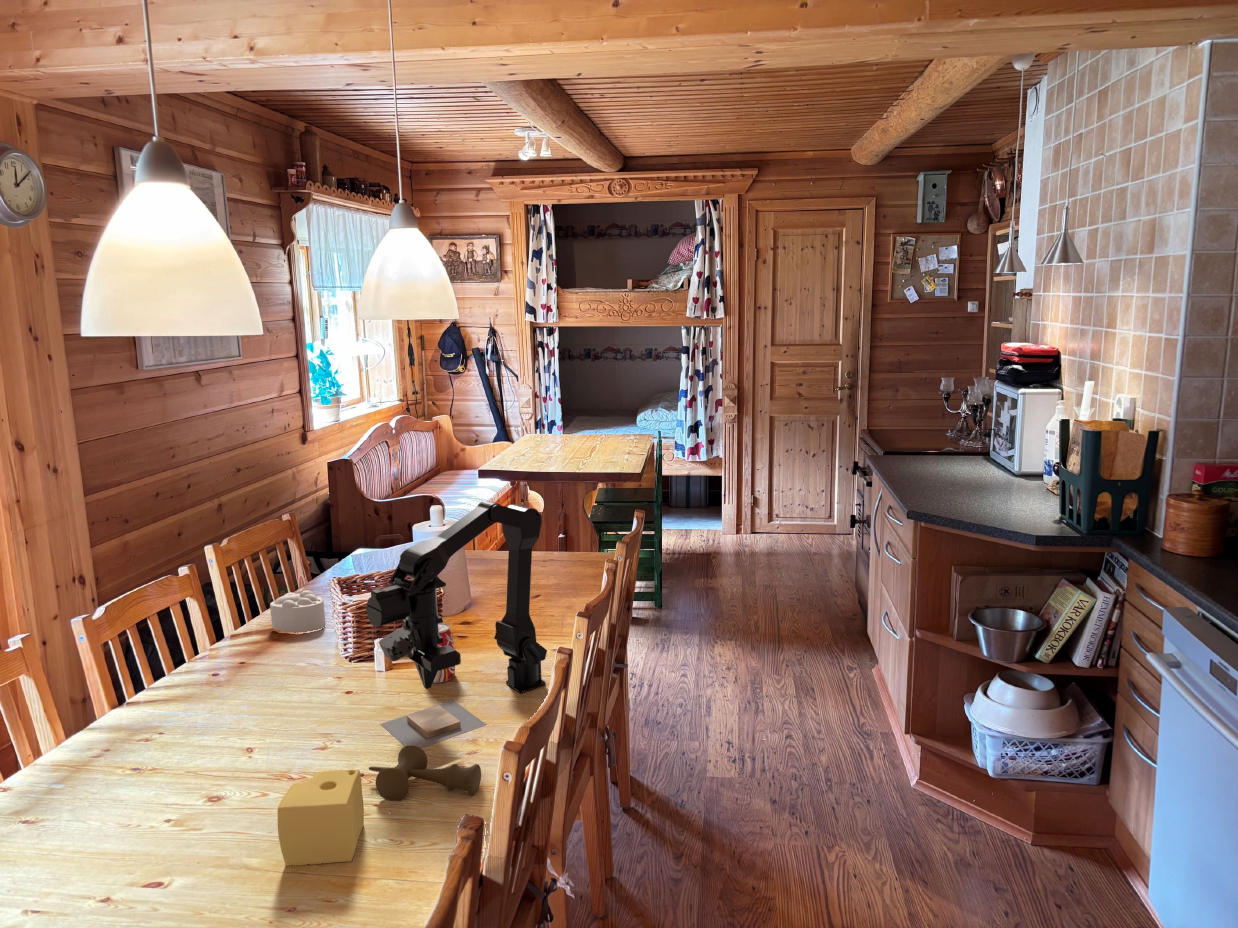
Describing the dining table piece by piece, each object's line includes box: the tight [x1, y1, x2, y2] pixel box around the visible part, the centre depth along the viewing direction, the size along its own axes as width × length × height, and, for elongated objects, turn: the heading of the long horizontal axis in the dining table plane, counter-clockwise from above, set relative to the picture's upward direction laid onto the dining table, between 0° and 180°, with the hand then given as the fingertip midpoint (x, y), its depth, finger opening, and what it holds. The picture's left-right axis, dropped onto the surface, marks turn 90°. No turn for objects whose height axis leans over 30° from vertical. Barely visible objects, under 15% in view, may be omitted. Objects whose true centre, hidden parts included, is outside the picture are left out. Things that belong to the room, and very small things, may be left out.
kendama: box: [368, 745, 482, 802], centre depth 149 cm, size 6×10×20 cm
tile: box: [407, 704, 461, 739], centre depth 170 cm, size 7×1×9 cm
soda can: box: [433, 622, 456, 684], centre depth 191 cm, size 7×7×12 cm
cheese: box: [277, 769, 365, 867], centre depth 133 cm, size 10×11×10 cm
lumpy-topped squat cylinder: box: [269, 589, 327, 633], centre depth 224 cm, size 10×13×9 cm
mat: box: [379, 699, 487, 749], centre depth 171 cm, size 16×14×1 cm
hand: (427, 687), depth 170 cm, fingers closed
